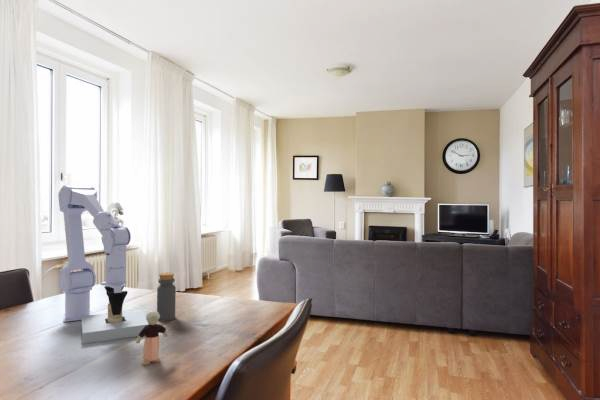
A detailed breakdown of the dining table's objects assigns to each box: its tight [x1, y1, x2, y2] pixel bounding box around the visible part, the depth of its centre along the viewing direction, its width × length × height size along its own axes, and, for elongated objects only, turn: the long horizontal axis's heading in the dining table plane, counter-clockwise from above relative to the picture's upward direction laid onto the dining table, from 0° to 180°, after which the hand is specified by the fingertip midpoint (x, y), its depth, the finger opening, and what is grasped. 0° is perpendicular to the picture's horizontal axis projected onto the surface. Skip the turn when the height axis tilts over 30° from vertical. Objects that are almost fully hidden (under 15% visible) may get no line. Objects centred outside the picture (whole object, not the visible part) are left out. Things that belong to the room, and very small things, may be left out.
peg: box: [107, 302, 123, 323], centre depth 124 cm, size 4×4×8 cm
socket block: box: [80, 308, 149, 345], centre depth 124 cm, size 18×18×3 cm
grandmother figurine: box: [135, 309, 169, 366], centre depth 101 cm, size 8×4×13 cm, turn 139°
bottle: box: [156, 272, 177, 322], centre depth 136 cm, size 6×6×15 cm
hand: (115, 311), depth 124 cm, fingers open, 7 cm apart
